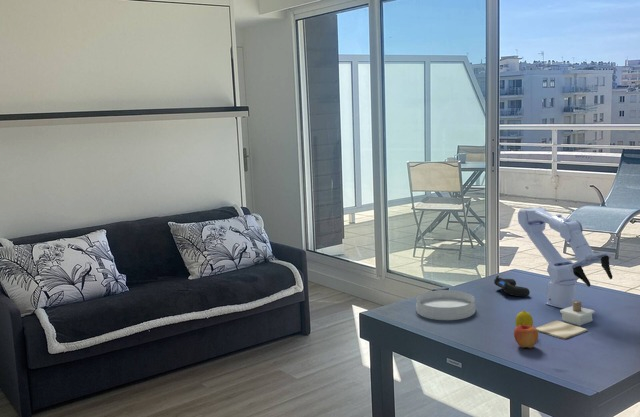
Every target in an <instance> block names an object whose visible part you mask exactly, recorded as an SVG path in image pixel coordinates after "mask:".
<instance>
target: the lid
mask: <svg viewBox="0 0 640 417" xmlns="http://www.w3.org/2000/svg"><path fill="white" fill-rule="evenodd" d="M582 303H583V302H582V301H579V300H575V301H573V306H571V307H568V308H565V309H563V308H561V309H560V310H559V313H561V314H562V313H564V314H568V315H571V316H575V317H578V318H582V317H584V316H587V315H590V314H592V315H593V314H594V313H595V310H593V309H590V308H586V307H582Z"/></svg>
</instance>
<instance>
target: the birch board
mask: <svg viewBox="0 0 640 417" xmlns="http://www.w3.org/2000/svg"><path fill="white" fill-rule="evenodd" d="M535 328H536V329H537V331H538V333H542V334H546V335H549V336H552V337H555V338H558V339H560V340H563V341H565V340H567V339H570V338H572V337H575V336H577V335H580V334H583V333H586V332H588V329H587V328H584V327H581V326H579V325H576V324H572V323H569V322H565V321H560V320H553V321H550V322H548V323H545V324H542V325H539V326H537V327H535Z"/></svg>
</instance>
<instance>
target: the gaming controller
mask: <svg viewBox="0 0 640 417" xmlns="http://www.w3.org/2000/svg"><path fill="white" fill-rule="evenodd" d="M499 276H500V275H497V276H496V277H495V279H494V280H493V281H494V282H493V283H494V285H496V286H498V287H499V288H501V289H502V291H503V292H504V293H507V295H509V296H511V295H512V296H515V297H521V298H527V297H529V295H530V294H531V292H530V291H531V290H530V289H529V288H528V287H523V286H517V281H516V280H515V279H514V278H502V277H499Z"/></svg>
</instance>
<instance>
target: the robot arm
mask: <svg viewBox="0 0 640 417" xmlns="http://www.w3.org/2000/svg"><path fill="white" fill-rule="evenodd" d="M517 219H518V224H519V225H520V227H521V228H522V229H523V231H524V232H525V233H526V234H527V236H528V239H529V240H530V241H531V242H532V244H533V245H534V246H535V247H536V249H537V250H538V252H540V254H541V255H542V256H543V258H544V259H545V260H546V262H547V263H548V265H547V269H546V272H547V273H548V275H549V278H550V281H549V282H548V284H547V288H546V289H547V290H546V291H547V292H546V296H547V297H546V299H547V300H546V301H547V302H545V305H548V306H550V307H551V306H552V307H555V308H558V309H559V308H560V309H565V308H568V307H571V306H573V301H576V298H575V297H576V283H578V282H577V281H578V280H581V281H582V282H583V283H584V284H585V285H586V286H587V287H589V288H590V287H591V282H590V279H588V277H587V275H586V274H585V271H584V269H583V268H584V267H588V266H591V265H593V264H596V263H599V262H600V264H601V267H602V268H603V270H604V271H605V273H606V274H607V276H608V278H609V280H612V279H613V275H612V271H611V266H610V259H611V258H612V256H611V255H612V254H610V252H609V251H605V252H600V253H594V250H593V249H592V248H591V246H590V244H589V242H588V241H587V239H586V237H585V235H584V233H583V225H582V223H581V222H580V221H579V220H574V221H573V220H570V219H569V218H566V217H563V216H562V214H560V213H559V214H558V213H557V214H554V215H553V214H552V213H550V212H548V211H547V210H546V208H544V207H542V206H539V207H536V208H534V207H532V208H521V209H519V210H518V213H517ZM546 225H548V227H549V228H550V229H551V230H554V231H555V232H558V233H559V235H560V238H562V239H563V240H565V242H566V243H568V244H569V246H570V248H571V250H572V251H573V254H574V255H575V257H576V258H577V261H574V262H573V261H572V260H571V259H568V258H565V257H563V256H562V255H561V254H560V252H559V251H558V250H557V249H556V247H555V246H554V245H553V244H552V242H551V241H550V240H549V238H548V237H547V236H546V234H545V233H544V231H545V230H546Z"/></svg>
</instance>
